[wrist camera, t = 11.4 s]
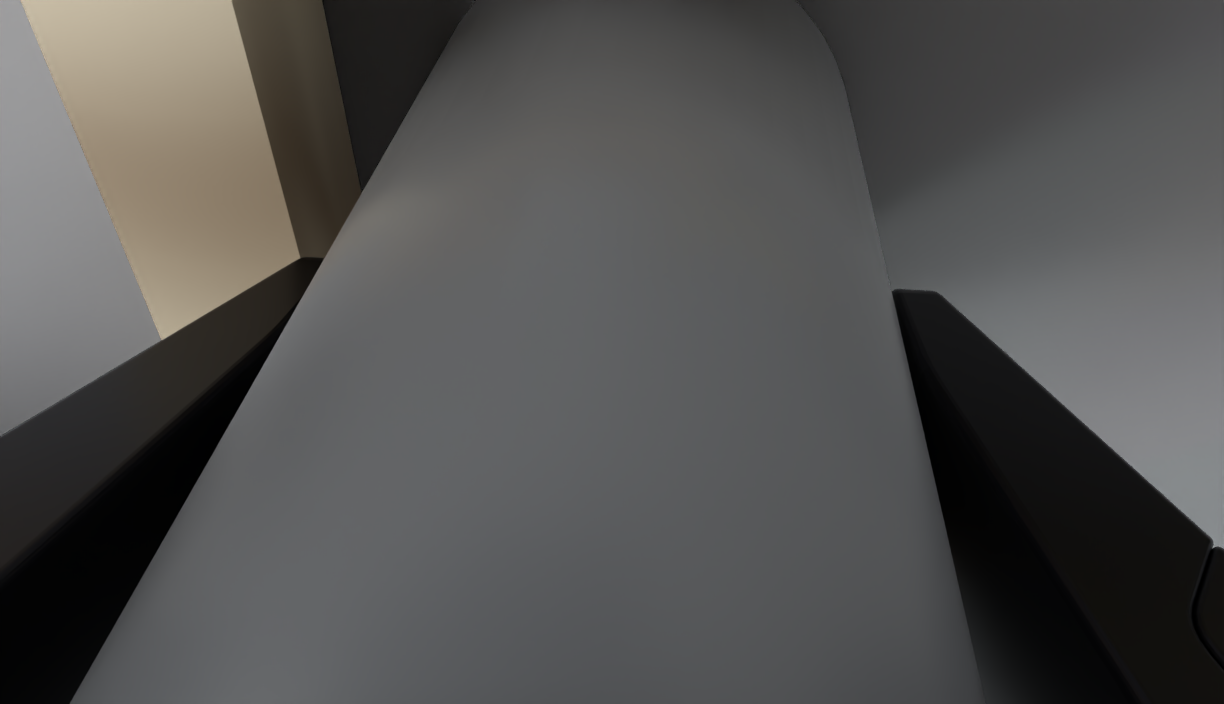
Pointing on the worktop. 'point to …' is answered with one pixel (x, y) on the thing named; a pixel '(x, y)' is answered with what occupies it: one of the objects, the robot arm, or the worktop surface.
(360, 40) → the worktop surface
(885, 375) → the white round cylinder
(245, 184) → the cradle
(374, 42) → the worktop surface
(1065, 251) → the worktop surface
